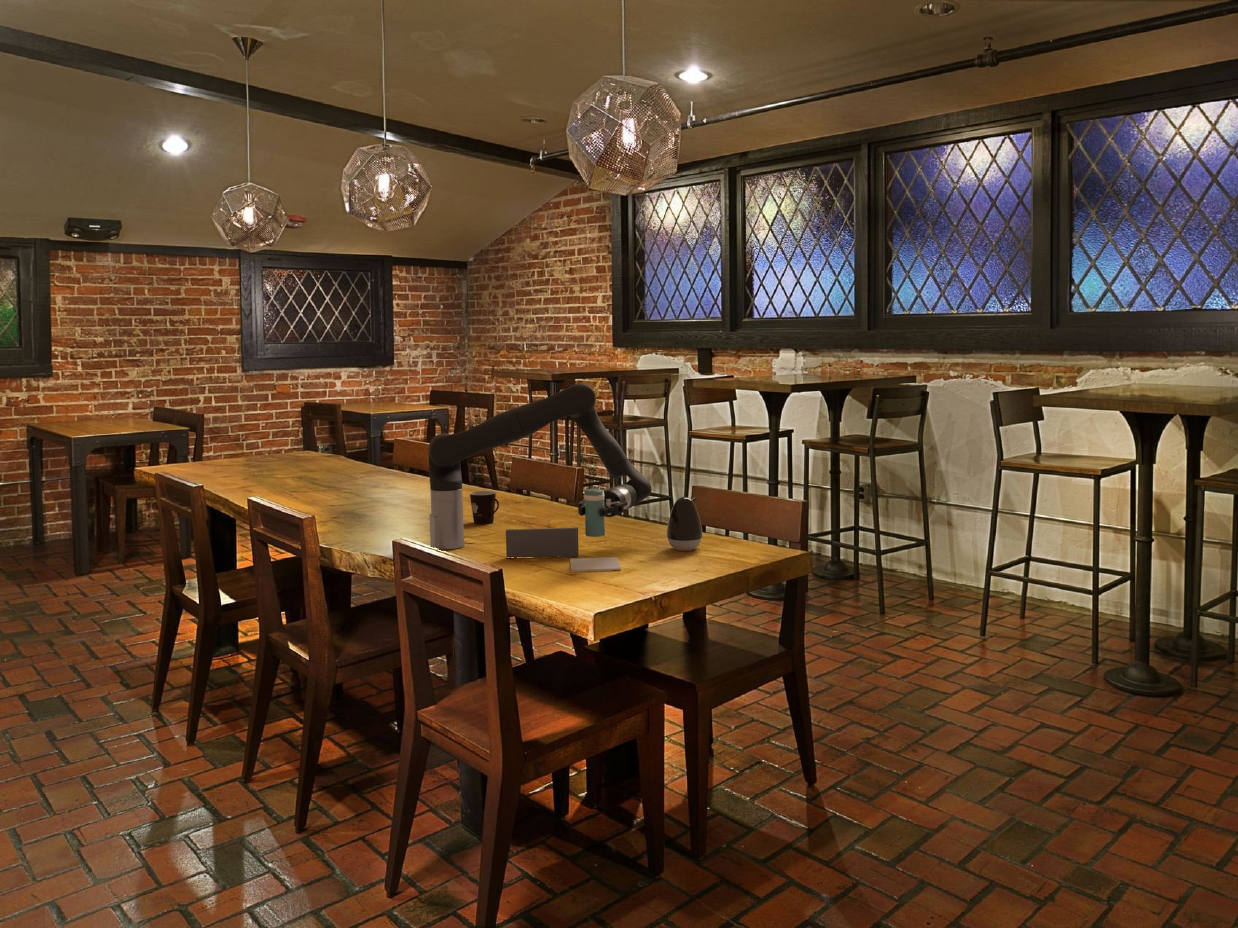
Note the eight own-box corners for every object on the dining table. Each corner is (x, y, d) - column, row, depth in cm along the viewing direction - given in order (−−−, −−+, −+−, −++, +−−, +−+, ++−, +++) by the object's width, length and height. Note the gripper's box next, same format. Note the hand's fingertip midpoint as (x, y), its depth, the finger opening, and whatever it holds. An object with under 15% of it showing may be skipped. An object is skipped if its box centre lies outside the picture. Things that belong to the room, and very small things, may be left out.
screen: (506, 558, 275) (505, 530, 274) (506, 557, 277) (505, 529, 276) (578, 556, 277) (578, 528, 276) (578, 555, 278) (577, 527, 277)
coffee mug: (468, 521, 331) (467, 491, 330) (493, 519, 334) (492, 490, 333) (475, 527, 321) (474, 497, 319) (501, 525, 324) (500, 495, 322)
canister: (589, 537, 261) (588, 492, 260) (582, 534, 266) (580, 489, 265) (608, 535, 264) (607, 490, 262) (600, 532, 269) (599, 488, 267)
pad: (571, 572, 259) (571, 569, 259) (570, 560, 272) (570, 558, 272) (621, 570, 260) (621, 568, 260) (617, 559, 273) (617, 557, 273)
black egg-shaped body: (710, 548, 285) (709, 496, 283) (687, 554, 278) (687, 501, 276) (682, 543, 292) (681, 492, 290) (659, 549, 284) (659, 497, 282)
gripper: (589, 487, 279) (565, 497, 264) (637, 488, 274) (615, 499, 259) (590, 513, 280) (566, 524, 265) (638, 515, 275) (616, 527, 260)
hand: (590, 512), depth 262 cm, fingers closed on canister, 5 cm apart
